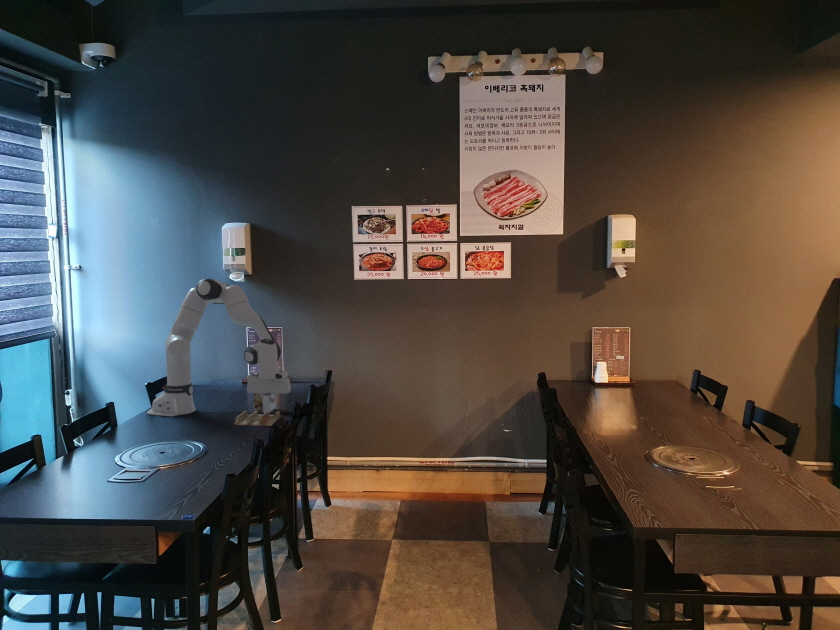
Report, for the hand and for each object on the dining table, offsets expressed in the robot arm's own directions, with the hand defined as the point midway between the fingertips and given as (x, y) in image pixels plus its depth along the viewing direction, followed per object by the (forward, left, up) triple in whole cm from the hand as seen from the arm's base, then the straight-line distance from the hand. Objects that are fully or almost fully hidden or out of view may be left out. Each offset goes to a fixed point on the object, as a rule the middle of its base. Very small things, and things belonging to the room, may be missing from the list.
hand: (269, 402), depth 282 cm
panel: (0, 0, -4) cm, 4 cm away
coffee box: (-9, +18, -9) cm, 22 cm away
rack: (-6, 0, -9) cm, 11 cm away
